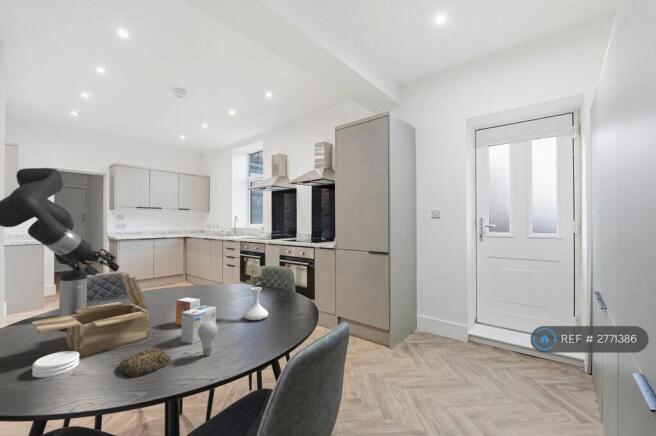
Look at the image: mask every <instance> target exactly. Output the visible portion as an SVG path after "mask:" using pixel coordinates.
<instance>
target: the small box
mask: <svg viewBox="0 0 656 436" xmlns="http://www.w3.org/2000/svg"><path fill="white" fill-rule="evenodd" d="M198 307H201V298H195V297H194V298H192V297H187V296H186V297H183V298H179V299H176V307H175V325H177V326H182V312H185V311H188V310H191V309H194V308H198Z"/></svg>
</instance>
